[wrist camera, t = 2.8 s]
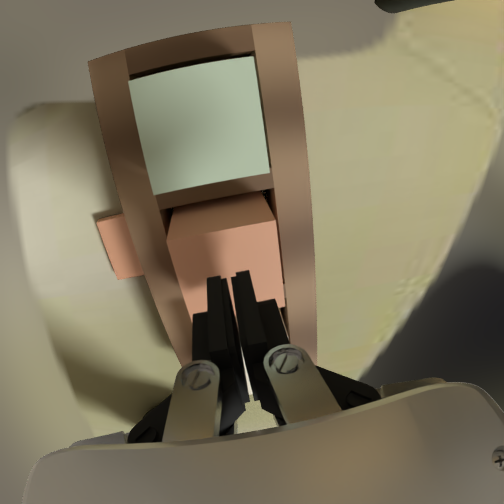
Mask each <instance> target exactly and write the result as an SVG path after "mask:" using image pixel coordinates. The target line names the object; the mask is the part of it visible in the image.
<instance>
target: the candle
mask: <svg viewBox="0 0 504 504" xmlns="http://www.w3.org/2000/svg"><path fill="white" fill-rule="evenodd" d="M447 1H453V0H375V4H376V5H377V6H378V7H379V8H380V9H382V10H384V11H386V12H388V13H398V12H402V11H406V10H410V9H414V8H418V7H422V6H427V5H432V4H437V3H442V2H447Z"/></svg>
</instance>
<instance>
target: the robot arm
mask: <svg viewBox="0 0 504 504" xmlns="http://www.w3.org/2000/svg"><path fill="white" fill-rule="evenodd" d="M231 283H232V290H233V297H234V303H235V310H236V317H237V322H236V318H235V313H234V309H233V304H232V300H231V296H230V291H229V287H228V282H227V278H223V279H221V276H220V275H219V276H214V277H208V278H207V311H206V312H200V313H194V314H193V317H192V362H190V363H187V364H186V365H184V366H183V367H182V368H181V369H180V370H179V371H178V373H177V376H176V379H175V383H174V388H173V392H172V394H171V395H170V396H168V397H167V398H166V399H165V400H164V401H163V402H162V403H161V404H159V405H158V406H157V407H156V408H155V409H154V410H153V411H151V412H150V413H149V414H148V415H147V416H146V417H145V418H143V419H142V420H141V421H140V422H139V423H138V424H136V425H135V426H134V427H133V428H132V430H131V431H130V432H129V433H124V432H123V431H121V432H117V433H113V434H109V435H104V436H100V437H95V438H91V439H85V440H80V441H77V442H75V443H73V444H72V445H71V446H70V447H69V448H64V449H60V450H58V451H54V452H51V453H49V454H47V455H45V456H43V457H42V458H40V459H39V460H38V461H37V462H36V463H35V465H34V466H33V468H32V470H31V472H30V474H29V477H28V480H27V483H26V486H25V490H24V494H23V499H22V504H504V412H503V411H502V410H501V408H500V407H499V406H498V405H497V403H496V402H495V401H494V400H493V399H492V398H491V396H489V394H487V393H486V392H485V391H484V390H483V389H481V388H480V387H478V386H476V385H473V384H470V383H461V382H460V383H459V382H451V383H447V382H445V381H444V380H443V379H440V378H426V379H420V380H414V381H407V382H401V383H394V384H386V385H382V387H381V388H377V389H374V388H373V387H371V386H369V385H367V384H364V383H362V382H359V381H356V380H353V379H350V378H348V377H345V376H342V375H340V374H337V373H334V372H332V371H329V370H326V369H324V368H321V367H319V366H316V365H314V363H313V361H312V360H311V358H310V356H309V355H308V353H307V352H306V351H305V350H304V349H303V348H301V347H300V346H297V345H293V344H290V343H289V340H288V337H287V333H286V330H285V327H284V324H283V321H282V318H281V315H280V312H279V308H278V305H277V302H276V300H275V298H274V299H269V300H264V301H259V302H257V301H256V296H255V292H254V288H253V284H252V280H251V276H250V271H249V270H245V271H240V272H236V276H234V277H231ZM237 324H238V326H237ZM238 330H239V331H238ZM241 348H242V349H241ZM242 353H243V355H242ZM243 357H244V361H245V365H246V369H247V373H248V377H249V381H250V385H251V389H252V393H253V397H254V401H257V400H260V403H261V407H262V409H264V410H266V411H268V412H269V413H271V414H273V416H274V420H275V422H276V425H277V427H274V428H268V429H263V430H258V431H252V432H246V433H240V434H237V428H238V424H237V419H238V418H239V417H240V415H241V414H242V413H243V412H244V411H246V409H245V403H246V402H250V399H249V393H248V387H247V380H246V374H245V368H244V362H243Z"/></svg>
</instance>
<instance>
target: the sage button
mask: <svg viewBox="0 0 504 504" xmlns="http://www.w3.org/2000/svg"><path fill="white" fill-rule="evenodd" d="M128 83H129V89H130V94H131V99H132V104H133V109H134V114H135V119H136V123H137V128H138V133H139V137H140V142H141V146H142V150H143V155H144V159H145V163H146V167H147V171H148V175H149V179H150V183H151V187H152V191H153V195H157V194H162V193H166V192H171V191H175V190H180V189H185V188H190V187H195V186H200V185H205V184H210V183H215V182H220V181H226V180H231V179H236V178H242V177H248V176H254V175H260V174H266V173H270V170H269V162H268V155H267V147H266V140H265V132H264V125H263V118H262V111H261V104H260V97H259V90H258V83H257V77H256V70H255V63H254V57H253V56H252V57H243V58H236V59H229V60H222V61H216V62H210V63H204V64H199V65H194V66H189V67H184V68H179V69H174V70H170V71H166V72H161V73H157V74H153V75H149V76H145V77H142V78H138V79H134V80H131V81H128Z"/></svg>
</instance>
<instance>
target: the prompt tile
mask: <svg viewBox="0 0 504 504" xmlns="http://www.w3.org/2000/svg"><path fill="white" fill-rule="evenodd" d="M97 226H98V229H99V231H100V234H101V237H102V240H103V243H104V245H105V248H106V251H107V253H108V256H109V259H110V261H111V264H112V266H113V269H114V271H115V274H116V276H117V279H118V280H120V279H125V278H130V277H136V276H141V275H144V272H143V270H142V267H141V264H140V261H139V258H138V255H137V252H136V250H135V247H134V244H133V241H132V238H131V235H130V231H129V228H128V225H127V222H126V219H125V216H124V213H122V214H118V215H114V216H110V217H106V218H102V219H99V220H98V221H97Z"/></svg>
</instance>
